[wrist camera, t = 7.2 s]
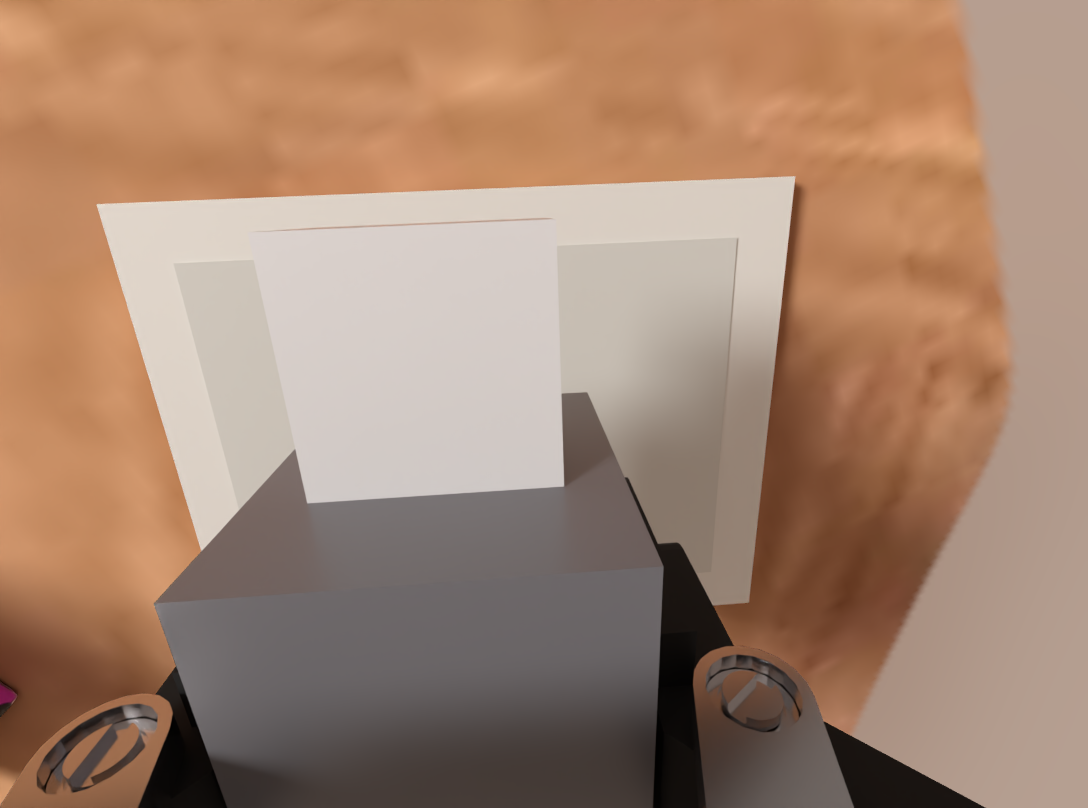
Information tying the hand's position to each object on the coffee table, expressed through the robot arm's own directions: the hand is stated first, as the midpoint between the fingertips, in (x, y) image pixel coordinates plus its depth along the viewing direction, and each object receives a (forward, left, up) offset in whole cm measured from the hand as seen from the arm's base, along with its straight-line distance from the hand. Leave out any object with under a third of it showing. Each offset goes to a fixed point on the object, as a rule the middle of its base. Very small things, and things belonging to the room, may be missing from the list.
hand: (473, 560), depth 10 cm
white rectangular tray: (0, 0, -7) cm, 7 cm away
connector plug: (0, 0, -1) cm, 1 cm away
